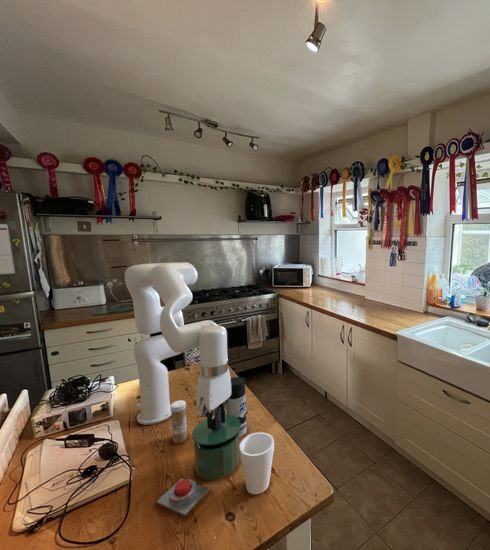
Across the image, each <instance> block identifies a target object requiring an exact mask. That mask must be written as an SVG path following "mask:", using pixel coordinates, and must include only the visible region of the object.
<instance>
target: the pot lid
mask: <svg viewBox="0 0 490 550" xmlns="http://www.w3.org/2000/svg"><path fill="white" fill-rule="evenodd" d="M215 417H217V430H212V429H209V428H208V426H207V418H205V419H203V420H202V421H200V422H199V423H198V424H197V425H196V426H194V428H193V430H192V433H191V439H192V440H193V442H194V441H195V442H196V443H198V444H201V445H216V444H220V443H223V442H225V441H227V440H229V439H231V438H232V437H234V436H235V435H236V434H237V433H238V431H239V429H240V426H241V424H240V420H239V419H238V418H237V417H235V416H232V415H227V414H225V417H226V422H225V423H222V416H221V408H220V407H216V409H215Z"/></svg>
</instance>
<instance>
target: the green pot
mask: <svg viewBox="0 0 490 550" xmlns="http://www.w3.org/2000/svg"><path fill="white" fill-rule="evenodd" d="M193 443H194V444H193V448H194V450H193V452H194V471H195V474H196V475H197V476H198V477H199V478H201V479H204V480H217V479H219V478H223V477H225V476H227V475H228V474H230V473H232V472H233V471H234V470H235V469H236V467H237V466H238V464H239V462H240V437H239V432H238V433H237V434H236V435H235V436H234V437H232V438H231V439H229V440H227V441H225V442H223V443H220V444H216V445H201V444H198V443H196V442H195V441H194V440H193Z"/></svg>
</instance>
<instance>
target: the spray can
mask: <svg viewBox="0 0 490 550" xmlns="http://www.w3.org/2000/svg"><path fill="white" fill-rule="evenodd" d="M230 378H231V393H232V395H231V397H230V398H229V399H228V402H227V408H226V410H225V415H232V416H235V417H237V418H238V419H239V420H240V424H241V426H240V429H239V431H238V432H239V438H240V437H243V436H244V435H246V434H247V431H248V430H247V429H248V427H247V426H248V425H247V401H246V400H247V399H246V398H247V397H246V395H247V394H246V380H245V378H244V377H240V376H234V377H233V376H232V377H230Z"/></svg>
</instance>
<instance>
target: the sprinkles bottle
mask: <svg viewBox="0 0 490 550" xmlns="http://www.w3.org/2000/svg"><path fill="white" fill-rule="evenodd" d="M170 404H171V412H172V415H171V433H172V442H173V443H174V444H175V443H176V444H177V443H181V442H184V441H185V440H186V439H187V438H188V435H187V415H186V409H187V404H186V401H185V400H176V401H174V402H172V403H170Z"/></svg>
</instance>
